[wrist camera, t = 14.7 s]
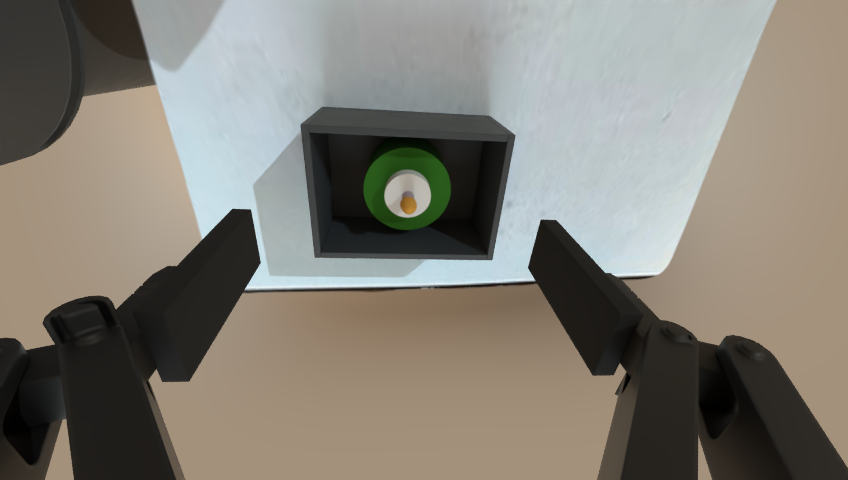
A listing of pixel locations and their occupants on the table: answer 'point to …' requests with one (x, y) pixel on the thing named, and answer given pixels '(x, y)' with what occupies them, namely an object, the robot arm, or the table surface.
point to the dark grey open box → (346, 169)
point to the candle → (406, 183)
